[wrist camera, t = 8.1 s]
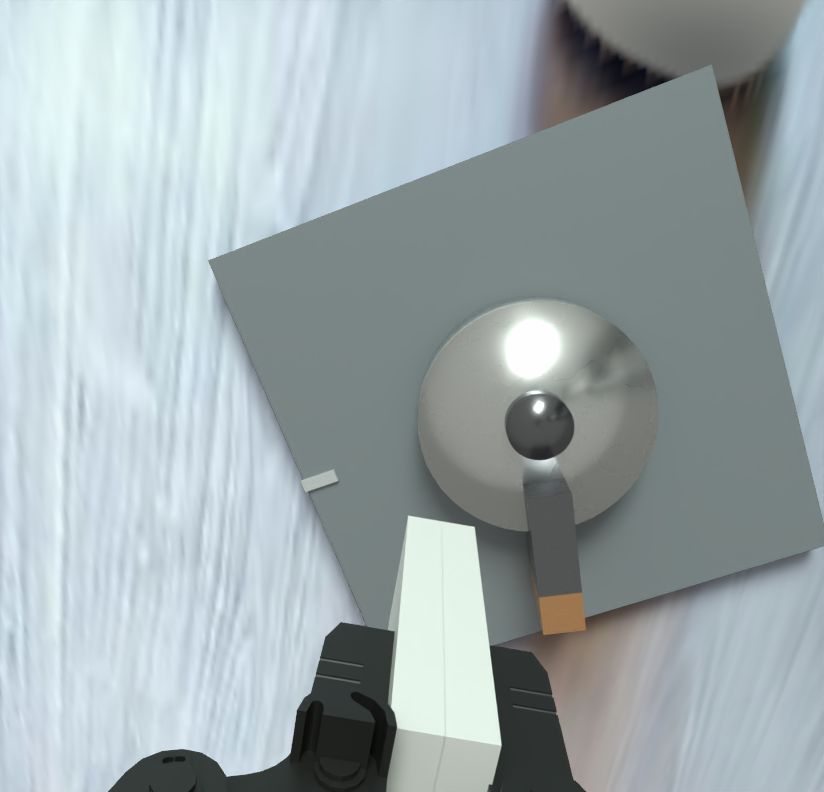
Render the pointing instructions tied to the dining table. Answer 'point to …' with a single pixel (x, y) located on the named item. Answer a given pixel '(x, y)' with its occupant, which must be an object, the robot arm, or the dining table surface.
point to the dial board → (543, 277)
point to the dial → (538, 431)
